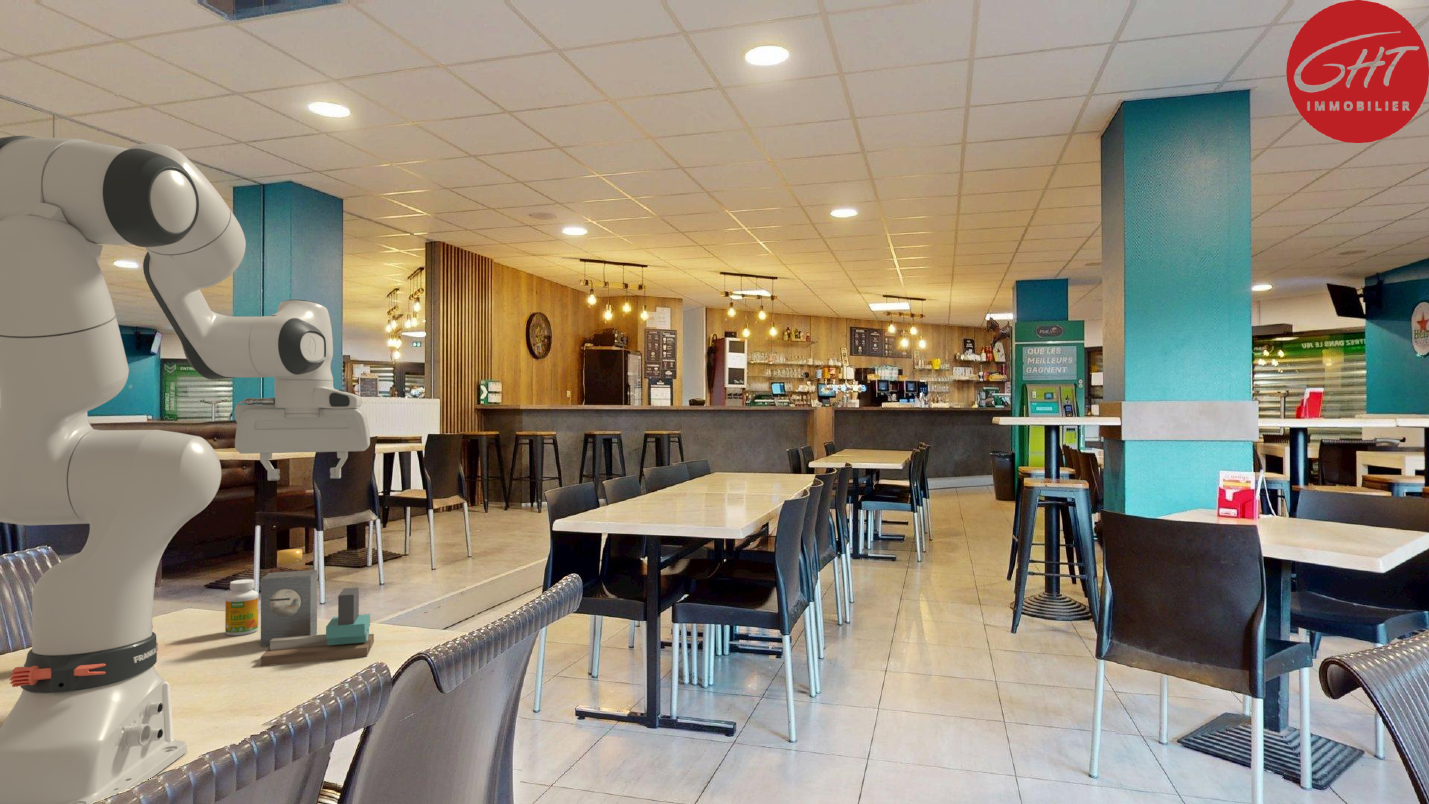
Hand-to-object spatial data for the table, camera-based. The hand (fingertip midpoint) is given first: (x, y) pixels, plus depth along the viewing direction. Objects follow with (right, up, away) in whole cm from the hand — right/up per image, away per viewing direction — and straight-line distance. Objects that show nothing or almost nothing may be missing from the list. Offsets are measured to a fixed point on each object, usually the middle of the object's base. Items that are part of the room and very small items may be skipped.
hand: (304, 479), depth 132 cm
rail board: (+1, -30, +2) cm, 30 cm away
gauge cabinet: (-8, -31, +11) cm, 33 cm away
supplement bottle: (-21, -31, +16) cm, 41 cm away
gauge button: (-9, -17, +11) cm, 22 cm away
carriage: (+6, -28, +4) cm, 29 cm away
